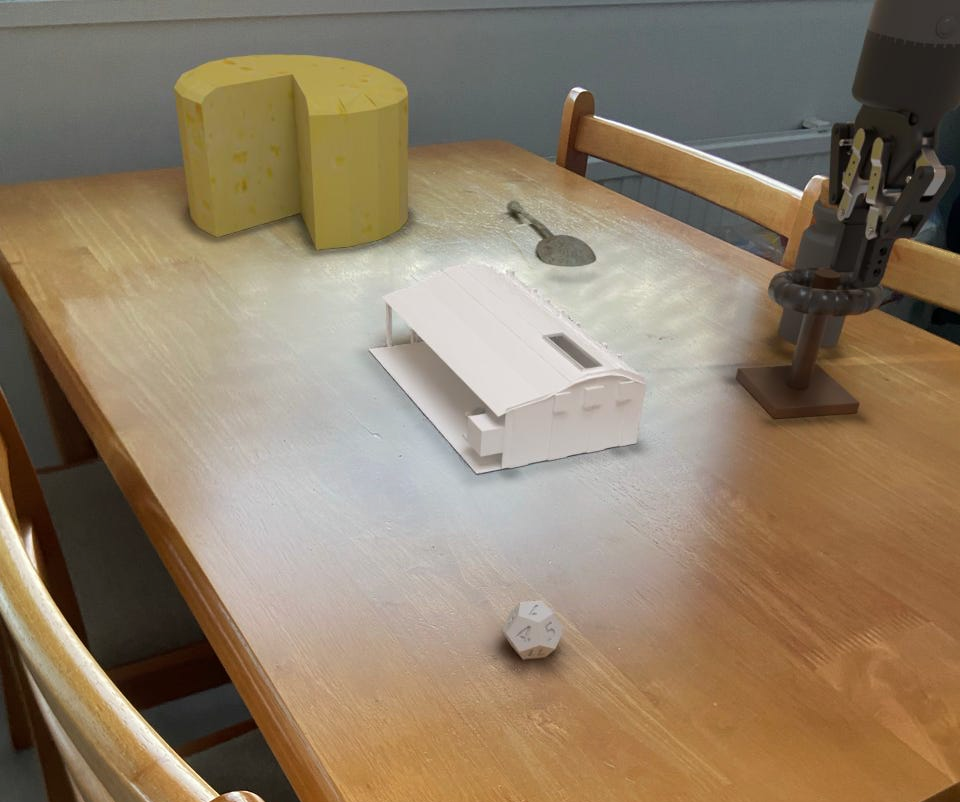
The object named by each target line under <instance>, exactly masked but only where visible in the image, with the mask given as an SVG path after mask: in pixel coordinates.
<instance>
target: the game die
mask: <svg viewBox="0 0 960 802" xmlns="http://www.w3.org/2000/svg"><path fill="white" fill-rule="evenodd" d="M501 632H502V633H503V635H504V637H505V639H506V640H507V642H508V644H510V646H511V648H513V650H514V651H515V652H516V654H518V656H519V657H520V658H521V659H522V660H523V661H524V660H536V659H545V658H547V656H549V655H550V654H551V653H552V652H554V651H555V650H556V649H557V646H558V645H559V642H560V639H561V637H562V634H563V632H564V627H563V626H562V624H561V622H560V621H559V619H558V617H557V615H556V614H555V612H554V611H553V610H552V609H551V608H550V607H549V606H548V605H547V604H546V602H544V601H543V599H539V600H527V601H520V602H518V604H516V605H515V606H514V607H513V608H512V609H511V610H510V611H509V613H508V616H507V617H506V620H505V622H504V625H503V627H502V629H501Z"/></svg>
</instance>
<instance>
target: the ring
mask: <svg viewBox="0 0 960 802" xmlns="http://www.w3.org/2000/svg"><path fill="white" fill-rule="evenodd" d="M819 269H828V270H833V269H831V268H819V267H815V268H795V269H794V268H790V269H787V270H783V271H781V272H777V273H776V274H774V275H773V276H772V278H771V280H770V282H769V284H768V287H767V296H768V297H769V299H770V300H771V301H772V302H774V303H775V304H776V305H779V306H780V307H781V308H783V309H784V308H786V309H789V310H793V311H797V312H801V313H805V314H812V315H822V316H846V317H850V316H851V317H853V316H860V315H863V314H866V313H870V312H872V311H874V310H876V309H878V308H879V307H880V306H881V304H882V302H883V300H884V298H883V297H884V288H883V285H882V283H881V282H880V284H879V285H878V286H877V287H874V288H857V287H856V286H854V285H853V284H852V283H851V278H852V275H853V272H838V273H839V274H840V278H839V282H838V285H837V289H836V290H826V289H815V288H811V287H812V284H813V280H814V276H815V272H816V271H817V270H819ZM833 271H834V270H833Z"/></svg>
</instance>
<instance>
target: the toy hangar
mask: <svg viewBox="0 0 960 802" xmlns="http://www.w3.org/2000/svg"><path fill="white" fill-rule="evenodd" d="M515 272H516V270H514V269H513V268H509V269H506V274H505V273H503V272H501V271H499V270H498V269H496V268H494V267H493V266H488V265H486V264H480V263H477V262H476V261H475V262H473V263H471V262H470V263H464V264H460V263H458V264H455V265H452V266H449V267H446V268H441V269H440V271H439V272H437V273H435V274H433V275H432V276H431V277H429V278H428V279H426V280H425V281H423V282H422V283H419V284H415V285H412V286H408V287H404V288H400V289H397V290H393V291H391V292H389V293H386V294H385V295H383V296H381V298H382V299H383V301H384V302H385V304H386V305H385V323H386V325H385V327H386V329H385V330H386V331H385V332H386V335H385V337H386V340H385V341H386V342H385V343H386V346H380V347H375V348H368V351H369V352H370V353H371V354H372V355H373V357H374V358H375V359H376V360H377V361H378V363H380V364H381V366H382V367H383V368H384V369H385V370H386V371H387V372H388V374H389V375H390V376H391V377H392V378H393V379H394V381H396V383H397V384H398V385H399V387H401V389H402V390H403V391H404V392H405V394H407V396H409V398H410V399H411V400H412V402H414V404H415V405H416V406H417V407H418V408H419V409H420V411H421V412H422V413H423V414H424V415H425V416H426V418H427V419H428V420H429V421H430V422H431V423H432V424H433V425H434V427H435V428H436V429H437V430H438V431H439V432H440V433H441V435H442V436H443V437H444V438H445V439H446V441H448V443H449V444H450V445H451V446H452V448H453V449H455V451H456V452H457V453H458V454H459V456H461V458H462V459H463V460H464V461H465V462H466V464H468V466H469V467H470V468H471V470H473V472H474V473H475V474H476V475H479V474H483V473H489V472H493V471H498V470H503V469H514V468H518V467H519V468H520V467H523V466H528V465H529V464H534V463H538V462H544V461H554V460H559V459H565V458H567V457H569V456H574V455H580V454H583V453H586V454H589V453H594V452H599V451H604V450H605V449H609V448H615V447H624V446H625V447H626V446H630V445H635V444H638V443H637V442H638V436H639V430H640V425H641V418H642V412H643V406H644V403H645V402H644V401H645V396H646V395H645V394H646V391H647V390H646V389H647V383H646V382H644V381H645V377H644V376H643V375H641V374H640V373H639V372H638V371H637V370H635V369H634V368H632V367H631V366H630V365H629V364H628V363H626V361H624V360H622V356H623V355H622V354H620V353H619V352H615V353H614V352H612V351H611V350H610V349H608V348H609V344H608V343H606V342H605V341H603V342H600V341H598V340H597V339H596V338H594V337H593V336H592V335H591V334H589V333H588V331H586V330H585V329H583V328H581V322H579V321H578V320H575V321H573V320H572V319H570V318H569V317H567V316H566V315H565V310H564V309H563V308H556V307H555V306H554V305H552V303H551V299H550V298H549V297H543V296H541V295H540V294H539V293H538V289H537V288H536V287H530V286H528V285H527V284H525V283H524V282H523V281H522V280H521V279H519V278H518V277H517V276H515V275H516V273H515ZM392 310H393V311H394V312H395V313H396V314H397V315H398V316H399V317H400V318H401V319H402V321H404V322H405V323H406V325H408V326H409V327H410V341H409V343H402V344H395V345H393V333H392V332H393V330H392V329H393V328H392V327H393V326H392V325H393V324H392V323H393V320H392V312H393V311H392ZM417 335H418V336H419V337H420V338H421V340H422V341H417Z"/></svg>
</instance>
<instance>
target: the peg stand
mask: <svg viewBox="0 0 960 802" xmlns="http://www.w3.org/2000/svg"><path fill="white" fill-rule="evenodd" d="M839 278H840V274H839V273H838V272H835V271H833V270H828V269H819V270H817V271H816V272H815V276H814V280H813V284H812V287H811V288H815V289H826V290H836V289H837V285H838V282H839ZM828 317H829V316H822V315H812V314H804V318H803V322H802V325H801V329H800V333H799V337H798V341H797V344H796V345H795V349H794V352H793V356H792V360H791V364H789V365H788V364H787V365H786V364H785V365H774V366H772V365H770V366H755V367H754V366H753V367H752V366H751V367H738V368H737V371H736V375H735V376H736V377H735V379H736V380H737V381H738V383H740V384H741V385H742V386H743V388H745V390H746V391H748V392H749V394H750V395H751V396H752V397H753V398H754V399H755V400H756V402H758V403H759V405H761V406H762V408H763V409H765V411H766V412H767V413H768V414H769V415H770V416H771V418H773V419H788V418H802V417H804V418H805V417H817V416H819V417H820V416H830V415H831V416H832V415H833V416H834V415H846V414H847V415H848V414H857V413H858V411H859V407H860V401H859V400H857V398H856V397H854V396H853V395H852V394H851V393H850V392H848V391H847V389H845V388H844V387H843V386H842V385H841V384H840V383H839V382H838V381H837V380H835V378H833V377H832V376H831V374H829V373H828V372H826V371H825V369H823V368H822V367H821V366H820V365H819V364H818V363H817V360H818V357H819V352H820V346H821V342H822V339H823V335H824V332H825V328H826V324H827V321H828Z"/></svg>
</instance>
